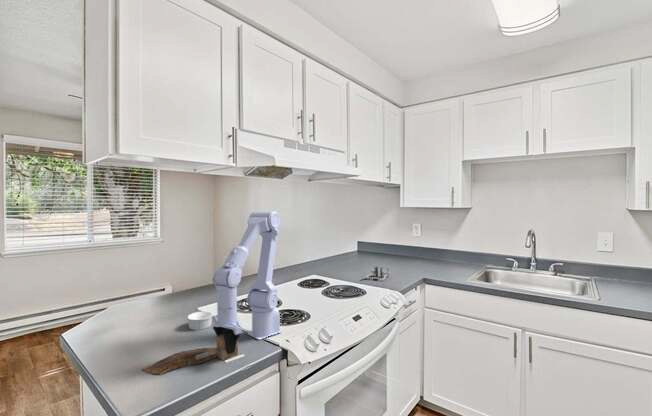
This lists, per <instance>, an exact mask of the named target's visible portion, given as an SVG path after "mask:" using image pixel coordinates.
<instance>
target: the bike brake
mask: <svg viewBox="0 0 652 416" xmlns="http://www.w3.org/2000/svg"><path fill="white" fill-rule="evenodd" d="M379 270H380V271H379ZM379 272H380V279H379V278H373V277H372V276H374V275H375V277H376V276H377V277H378V276H379ZM390 274H391V272H390V267H389V266H387V267H386V270H385V271H384V266H382V267H380V269H379V267H378V266H376V265H375V264H374V265H373V269H370V273H368V274H367V275H366V276H365V278H362V279H361V280H359V281H360V282H362V281H365V280H367V279H369V280H370V279H371V280H370V281H377V280H379V281H380V280H381V281H380V282H384V281H385V280H386V279H387V277H389V276H390ZM382 276H383V277H382ZM381 277H382V278H381Z"/></svg>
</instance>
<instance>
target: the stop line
mask: <svg viewBox="0 0 652 416" xmlns="http://www.w3.org/2000/svg"><path fill="white" fill-rule="evenodd" d="M245 356H246V355H244V354H240V355H239V354H238V355H236V356H233V357H230V358H227V360H226V359H225V360H223V361H224V363H226V364H227V363H230V362H233V361H235V360H239V359H241V358H243V357H245Z"/></svg>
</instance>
